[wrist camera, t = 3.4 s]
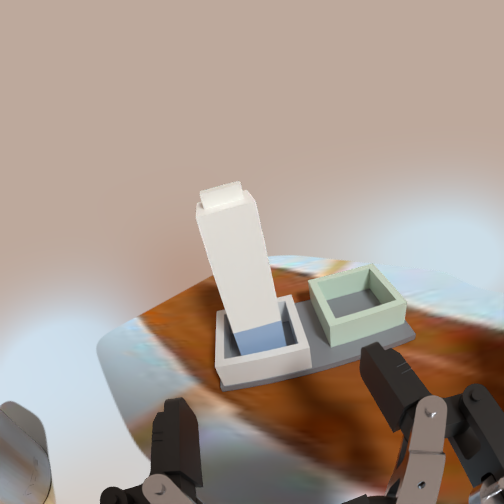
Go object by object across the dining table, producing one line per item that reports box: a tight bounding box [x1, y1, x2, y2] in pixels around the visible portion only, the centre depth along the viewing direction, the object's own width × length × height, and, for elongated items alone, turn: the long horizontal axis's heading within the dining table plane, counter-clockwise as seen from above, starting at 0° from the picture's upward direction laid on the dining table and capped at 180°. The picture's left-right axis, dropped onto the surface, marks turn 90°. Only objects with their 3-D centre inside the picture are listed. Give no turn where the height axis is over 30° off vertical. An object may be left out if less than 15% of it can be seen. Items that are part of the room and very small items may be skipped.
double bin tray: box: [215, 264, 416, 392], centre depth 24 cm, size 17×9×3 cm, turn 94°
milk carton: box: [196, 181, 286, 356], centre depth 20 cm, size 4×4×14 cm
